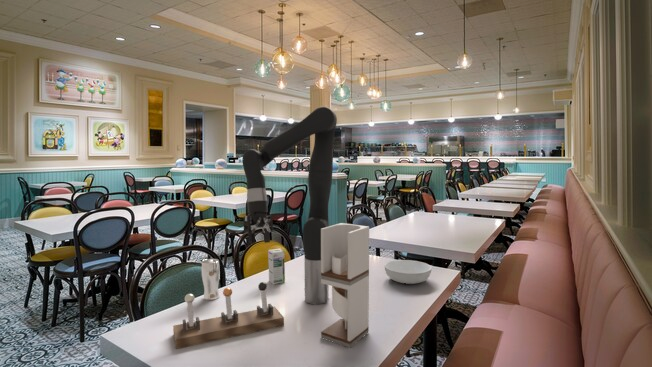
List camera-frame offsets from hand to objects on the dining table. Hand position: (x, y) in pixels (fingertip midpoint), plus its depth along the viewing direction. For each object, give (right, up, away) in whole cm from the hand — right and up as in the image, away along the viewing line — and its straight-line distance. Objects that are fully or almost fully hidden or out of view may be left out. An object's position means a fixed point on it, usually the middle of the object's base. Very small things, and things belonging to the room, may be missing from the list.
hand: (260, 243), depth 145 cm
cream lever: (-17, -23, -25) cm, 38 cm away
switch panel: (-7, -26, -19) cm, 33 cm away
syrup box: (+3, -22, +27) cm, 35 cm away
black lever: (+4, -22, -15) cm, 27 cm away
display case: (+31, -26, -23) cm, 47 cm away
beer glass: (-21, -24, +9) cm, 33 cm away
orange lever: (-6, -22, -20) cm, 31 cm away
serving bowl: (+62, -22, +28) cm, 71 cm away
